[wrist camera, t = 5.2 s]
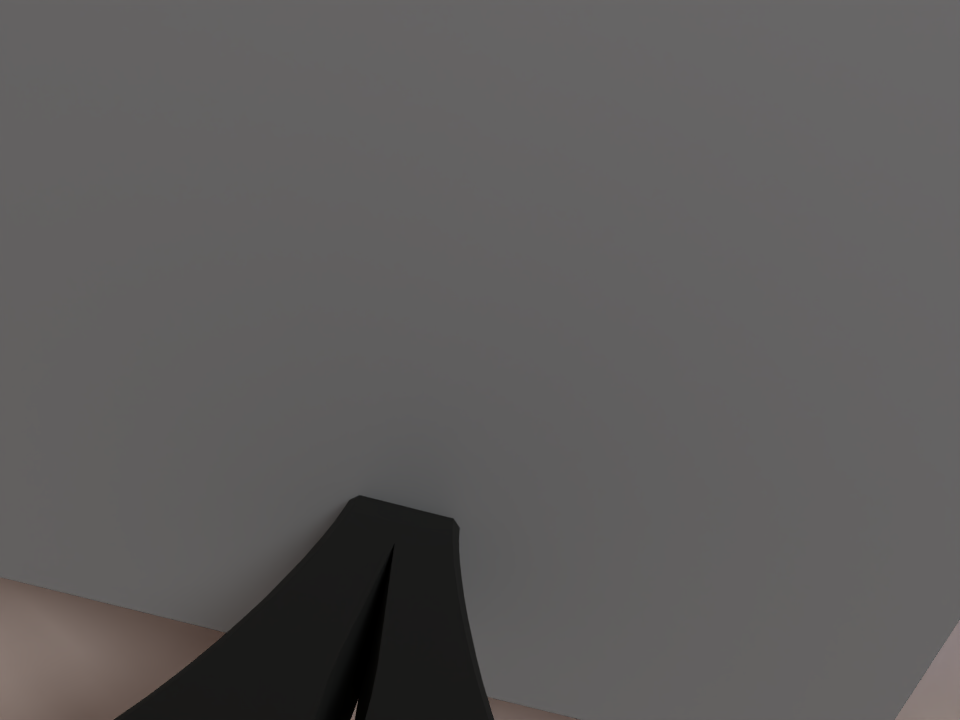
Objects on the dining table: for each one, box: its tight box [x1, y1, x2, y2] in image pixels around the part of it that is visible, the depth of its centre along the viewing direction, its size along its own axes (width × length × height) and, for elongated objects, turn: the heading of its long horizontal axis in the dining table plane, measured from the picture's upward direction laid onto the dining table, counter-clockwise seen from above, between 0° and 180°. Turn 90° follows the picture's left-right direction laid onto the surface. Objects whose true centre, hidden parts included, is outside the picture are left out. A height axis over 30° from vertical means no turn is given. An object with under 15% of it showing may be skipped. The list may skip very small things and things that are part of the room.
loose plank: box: [0, 0, 960, 720], centre depth 11 cm, size 16×12×2 cm
